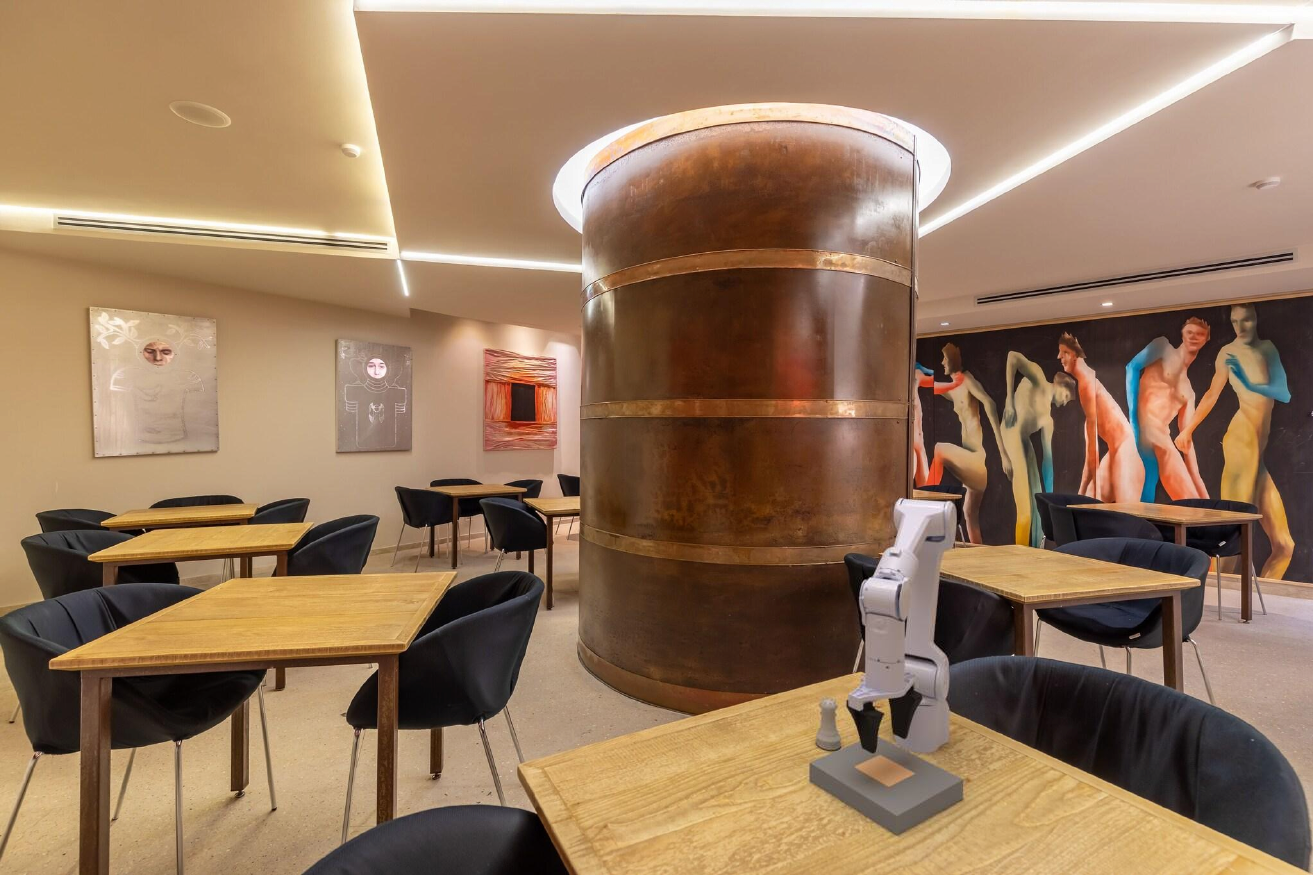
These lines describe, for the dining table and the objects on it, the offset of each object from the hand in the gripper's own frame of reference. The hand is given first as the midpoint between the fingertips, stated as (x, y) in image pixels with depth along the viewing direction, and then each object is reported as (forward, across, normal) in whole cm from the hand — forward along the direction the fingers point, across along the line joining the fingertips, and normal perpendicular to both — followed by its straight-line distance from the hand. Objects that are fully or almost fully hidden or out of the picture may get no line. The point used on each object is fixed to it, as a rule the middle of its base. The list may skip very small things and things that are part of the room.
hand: (884, 742), depth 95 cm
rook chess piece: (+8, -3, -14) cm, 16 cm away
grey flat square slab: (+7, 0, 0) cm, 7 cm away
